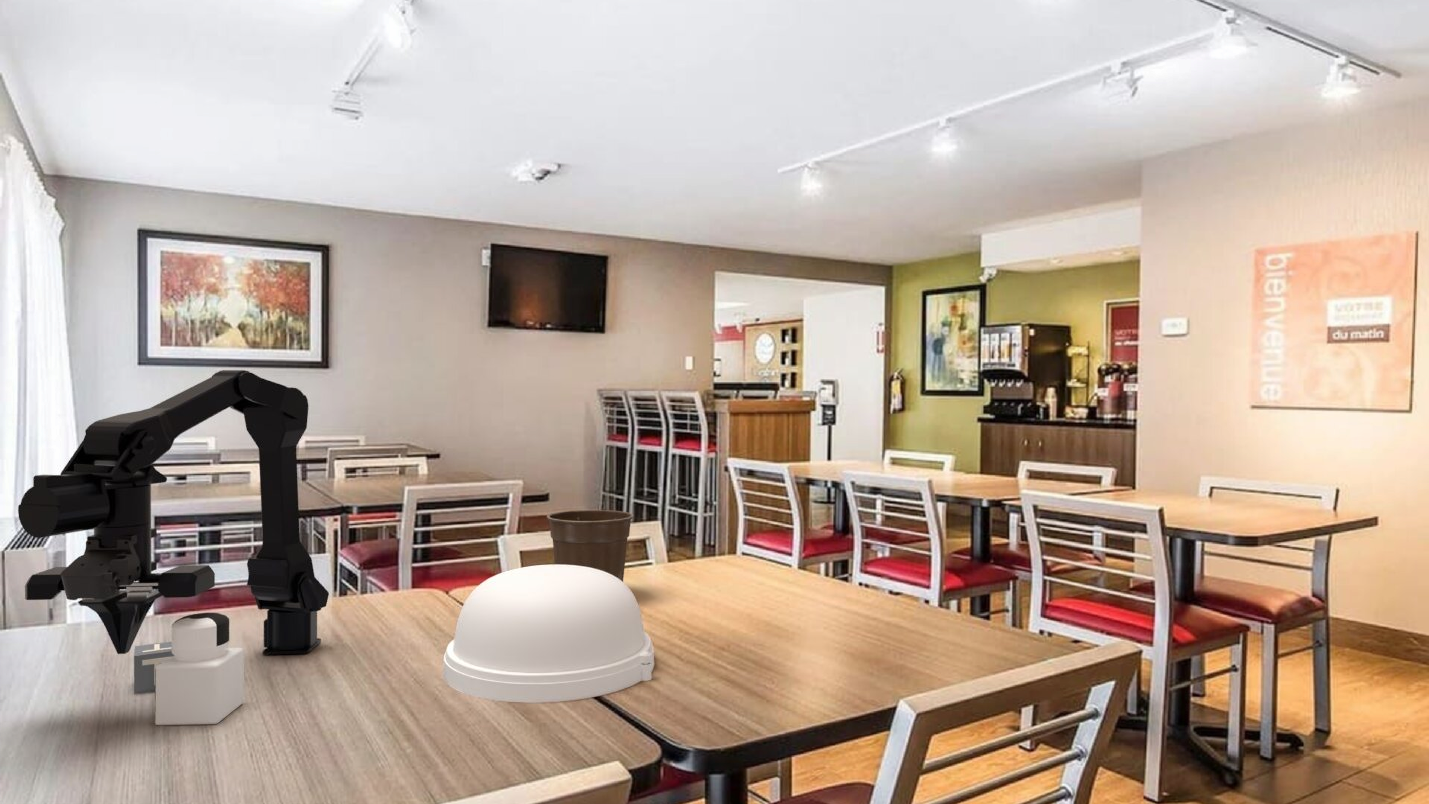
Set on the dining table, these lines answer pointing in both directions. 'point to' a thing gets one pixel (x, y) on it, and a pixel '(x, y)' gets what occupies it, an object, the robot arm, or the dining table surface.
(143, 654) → the lettered cube
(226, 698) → the medicine bottle
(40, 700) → the dining table surface
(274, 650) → the robot arm
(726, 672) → the dining table surface
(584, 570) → the dome cover
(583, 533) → the plant pot
